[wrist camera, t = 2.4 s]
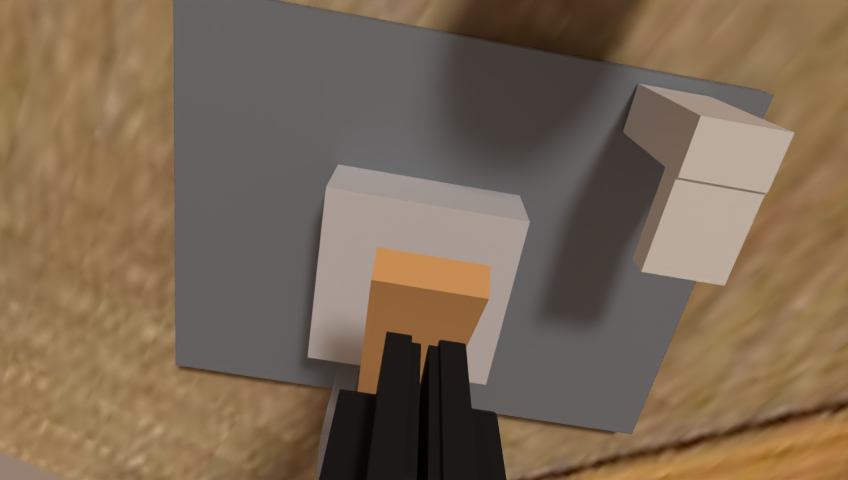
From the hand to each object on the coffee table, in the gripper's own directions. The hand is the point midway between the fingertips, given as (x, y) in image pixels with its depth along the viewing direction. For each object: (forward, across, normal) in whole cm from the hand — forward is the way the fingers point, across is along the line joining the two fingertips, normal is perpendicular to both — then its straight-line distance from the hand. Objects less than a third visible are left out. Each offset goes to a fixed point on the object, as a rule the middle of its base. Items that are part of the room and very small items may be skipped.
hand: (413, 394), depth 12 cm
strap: (+7, 0, +5) cm, 9 cm away
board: (+15, -1, +3) cm, 16 cm away
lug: (+14, -9, -3) cm, 17 cm away
